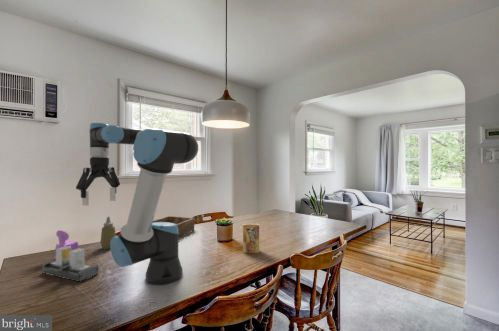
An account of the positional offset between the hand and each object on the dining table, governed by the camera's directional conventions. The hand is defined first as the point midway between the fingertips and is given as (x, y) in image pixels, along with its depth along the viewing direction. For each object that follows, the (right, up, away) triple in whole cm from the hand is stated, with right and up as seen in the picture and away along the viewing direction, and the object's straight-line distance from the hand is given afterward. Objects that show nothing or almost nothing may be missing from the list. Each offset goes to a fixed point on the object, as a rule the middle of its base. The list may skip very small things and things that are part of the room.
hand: (99, 202), depth 111 cm
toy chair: (-26, -31, +14) cm, 43 cm away
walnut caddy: (+13, -30, +53) cm, 62 cm away
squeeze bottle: (-12, -31, +28) cm, 43 cm away
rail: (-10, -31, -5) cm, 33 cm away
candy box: (+70, -31, +22) cm, 80 cm away
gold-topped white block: (-4, -29, -7) cm, 30 cm away
